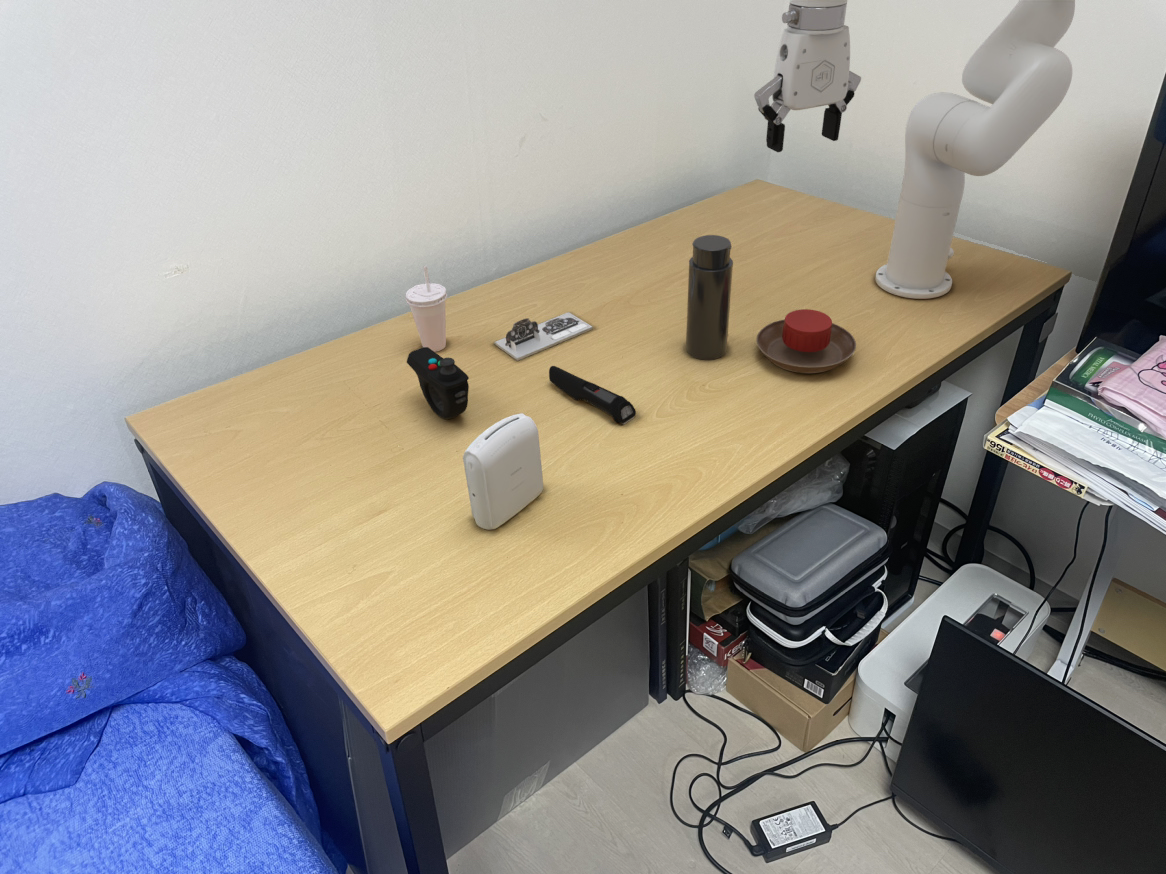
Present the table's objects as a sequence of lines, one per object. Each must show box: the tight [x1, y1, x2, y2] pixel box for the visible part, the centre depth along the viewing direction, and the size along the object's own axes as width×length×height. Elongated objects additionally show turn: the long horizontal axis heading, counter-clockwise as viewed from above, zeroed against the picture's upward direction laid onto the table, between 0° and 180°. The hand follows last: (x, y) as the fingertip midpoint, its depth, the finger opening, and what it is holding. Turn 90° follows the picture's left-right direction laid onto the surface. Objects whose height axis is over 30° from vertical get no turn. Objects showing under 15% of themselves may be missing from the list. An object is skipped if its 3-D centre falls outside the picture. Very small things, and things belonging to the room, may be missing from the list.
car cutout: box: [493, 312, 594, 362], centre depth 141 cm, size 15×7×4 cm, turn 128°
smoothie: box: [405, 265, 448, 353], centre depth 137 cm, size 6×6×14 cm
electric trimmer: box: [548, 365, 637, 426], centre depth 126 cm, size 4×16×3 cm, turn 45°
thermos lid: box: [782, 308, 833, 352], centre depth 132 cm, size 7×7×4 cm
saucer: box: [755, 318, 857, 374], centre depth 134 cm, size 15×15×3 cm
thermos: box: [685, 234, 734, 361], centre depth 132 cm, size 6×6×18 cm
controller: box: [406, 346, 470, 420], centre depth 123 cm, size 4×12×10 cm, turn 38°
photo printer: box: [462, 412, 544, 531], centre depth 105 cm, size 10×4×12 cm, turn 140°
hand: (802, 143), depth 128 cm, fingers open, 9 cm apart
